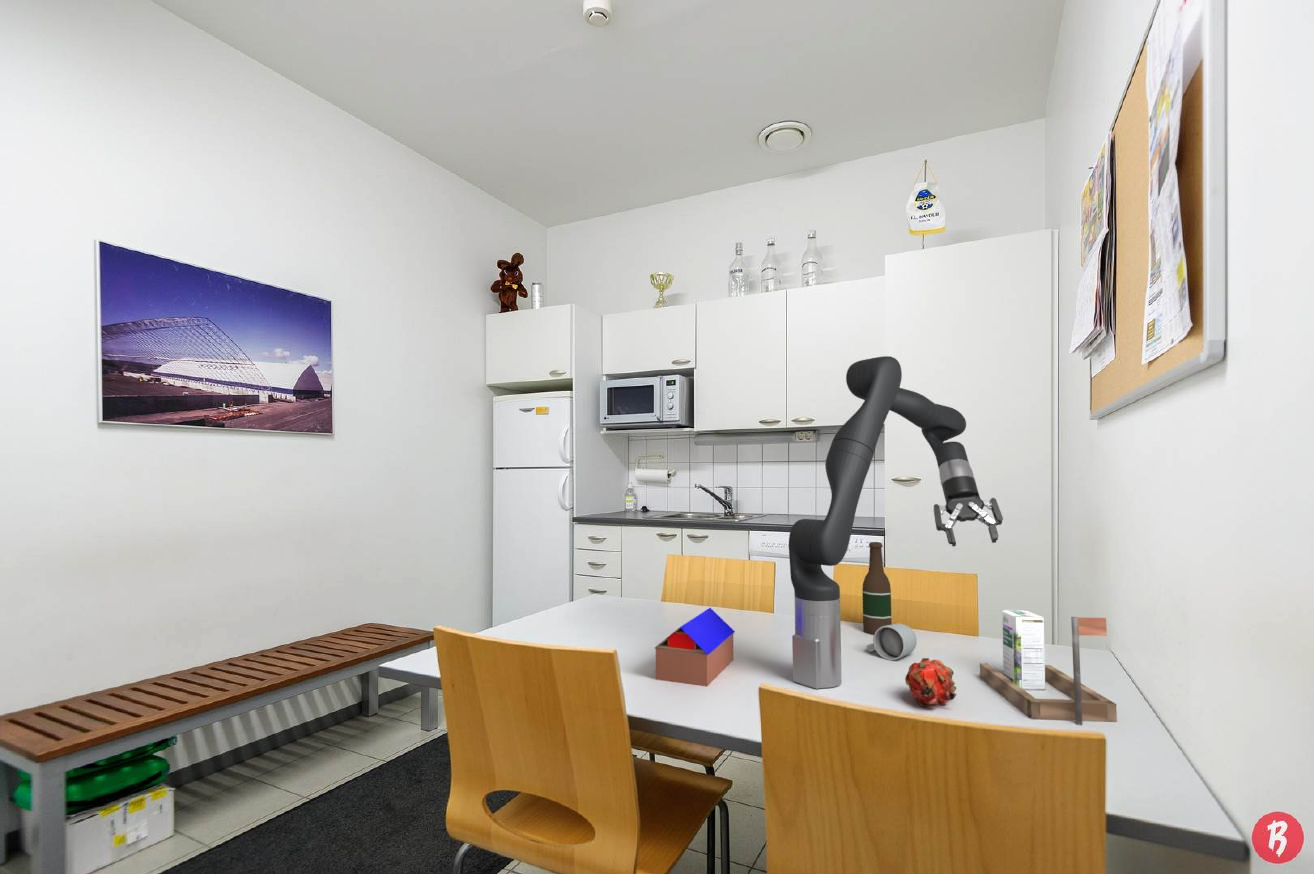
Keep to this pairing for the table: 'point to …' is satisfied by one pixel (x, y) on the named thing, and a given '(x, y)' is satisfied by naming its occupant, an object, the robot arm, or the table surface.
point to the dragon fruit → (931, 682)
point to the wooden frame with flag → (1060, 685)
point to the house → (696, 651)
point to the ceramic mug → (893, 641)
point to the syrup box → (1023, 649)
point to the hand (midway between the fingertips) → (974, 543)
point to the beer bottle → (876, 593)
